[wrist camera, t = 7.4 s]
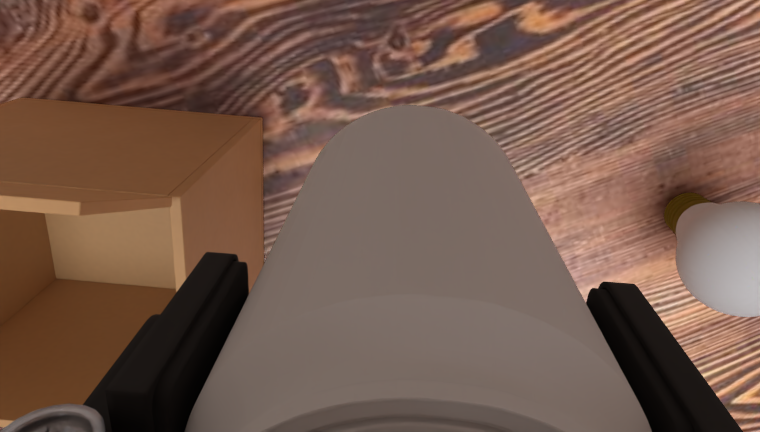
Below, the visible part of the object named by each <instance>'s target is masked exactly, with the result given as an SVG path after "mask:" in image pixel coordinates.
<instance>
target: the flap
mask: <svg viewBox="0 0 760 432" xmlns="http://www.w3.org/2000/svg"><path fill="white" fill-rule="evenodd" d="M171 206H172V197H168V196H157V195H145V194H134V193H122V192H111V191H99V190H88V189H76V188H65V187H53V186H42V185H30V184H19V183H7V182H0V209H2V210H13V211H25V212H36V213H48V214H59V215H70V216H86V215H96V214H106V213H117V212H127V211H137V210H147V209H157V208H167V207H171Z"/></svg>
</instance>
